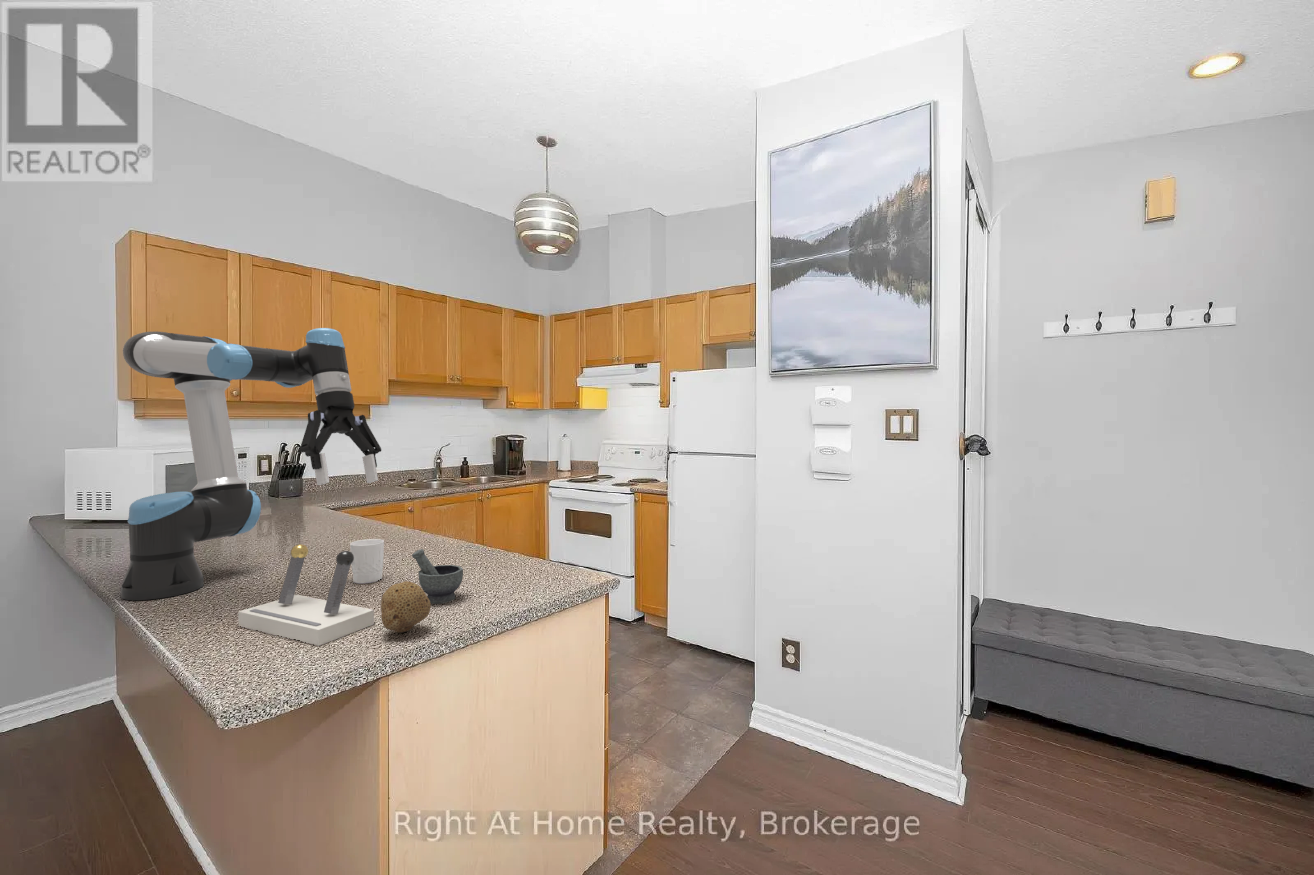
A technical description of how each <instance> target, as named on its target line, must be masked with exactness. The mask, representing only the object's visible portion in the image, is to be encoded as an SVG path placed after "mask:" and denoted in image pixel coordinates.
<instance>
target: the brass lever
mask: <svg viewBox="0 0 1314 875" xmlns="http://www.w3.org/2000/svg"><path fill="white" fill-rule="evenodd" d="M308 554H309V548H308V546H306V545H305V544H302V543H300V544H299V543H298V544H296V545H294V546H292V548H291V550H290V555H291V556H290V560H289V564H288V567H287V570H286V574H285V578H284V580H283V584H282V587H281V591H280V595H279V599H278V600H279V601H278V603H282V604H292V601H293V598H294V595H296V591H297V586H298V583H299V580H300V577H301V576H300V575H301V572H302V569H303V565H304V561H305V558H306V557H307V556H308Z"/></svg>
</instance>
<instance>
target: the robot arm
mask: <svg viewBox="0 0 1314 875" xmlns="http://www.w3.org/2000/svg"><path fill="white" fill-rule="evenodd" d="M305 343H306V345H304V346H302V347H301V348H298V349H296V350H286V349H284V350H283V349H276V348H269V347H268V348H267V347H256V346H252V345H251V346H249V345H244V344H243V345H240V344H237V343H227V342H226V341H224V340H222V339H219V338H212V337H209V336H206V335H205V336H198V335H190V334H182V333H173V332H166V331H158V330H157V331H156V330H155V331H145V332H140V333H136V334H135V335H133V336H131V337H130V338H128V339H127V340H126V341H125V343H124V345H123V347H122V356H123V359H124V361H125V362H126V364H127V365H128V366H129V367H130V368H132V370H134V371H136V372H137V373H140V374H143V375H144V376H147V377H148V376H149V377H154V378H160V379H161V378H162V379H173V382H174V388H175V389H176V390H178V391H179V392H181V393H182V394H183V398H184V404H185V410H186V417H187V424H188V430H189V436H190V443H191V448H192V455H193V462H194V469H195V475H196V480H197V481H196V482H197V484H195V486H194V487H193V488H192V489H191V490H190V491H191V492H190V491H174V492H164V493H158V494H153V495H149V496H145V497H141V498H139V499H138V498H137V499H136V500H135V501H133V502H132V503H131V504H130V505H129V510H128V518H127V523H128V538H129V541H128V542H129V565H128V568H127V571H126V573H125V576H124V577H123V578H124V579H123V581H122V584H121V586H120V598H121V599H122V600H128V601H147V600H157V599H164V598H171V597H175V596H180V595H183V594H187V593H191V592H194V591H196V590H198V589H201V588H203V587H204V583H205V582H204V581H205V580H204V574H203V572H202V570H201V568H200V566H199V564H198V561H197V559H196V556H195V550H194V549H195V548H194V546H195V543H197V542H202V541H208V540H209V541H210V540H215V539H221V538H226V537H235V536H237V535H240V534H241V535H242V534H245V533H248V532H250V531H252V529H253V528H255V527H256V525H257V523H258V521H259V519H260V516H261V510H262V503H261V500H260V497H259V496H258V495H257V494H258V493H257V492H256V491H254V490H252V489H248V487H247V482H246V481H244V480H242V479H241V478H240V477H239V473H238V467H237V461H236V455H235V449H234V442H233V435H232V429H231V424H230V423H231V422H230V417H229V412H228V404H227V398H226V390H227V389H228V388H230V386H231V381H233V380H235V381H237V380H238V381H239V380H240V381H245V380H246V381H262V382H274V383H276V384H278V385H279V386H281V387H283V388H287V389H291V388H295V387H299V386H302V385H305V384H306V383H309V382H310V381H312V382H313V389H314V394H315V395H316V397H315V401H316V407H317V410H314V411H311V412H308V414H307V425H306V428H305V431H304V434H303V438H302V441H301V444H300V447H299V452H300V453H304V456H306V457H309V458H310V463H311V469H312V470H314V474H315V480H316V486H322V485H326V484H329V483H330V477H329V473H328V472H329V471H328V466H327V460H326V454H325V452H324V453H323V452H322V451H323V449H324V447H325V445H326V444H327V443H328V441H329V439H330V438H331V436H332V434H337V433H338V434H339V435H341V434H342V435H343V434H344V435H345V437H349V438H350V439H351V441H352V442H353V443H354V444H355V445H356V446H357V448H359V450H360V451H361V452H362V453H363V456H362V462H363V463H362V464H363V469H364V475H365V479H366V484H371V483H375V482H377V481H379V477H378V473H377V472H378V471H377V467H378V463H377V458H376V454H379V453H380V452H382V447H381V446H380V444H379V442H378V440H377V438H376V437H375V435H374V433H373V431H372V430H371V428H370V427H369V425H368V422H367V419H366V416H365V414H360V415H355V414H354V412H353V411H354V409H355V402H354V401H355V400H354V396H353V393H352V385H351V381H350V374H349V366H348V361H347V356H346V355H347V354H346V346H345V343H344V341H343V335H342V334H341V332H340V331H338V330H336V329H334V328H329V327H318V328H313V329H311V330H309V331H307V333H306V335H305ZM321 423H323V425H322V427H321V428H320V426H321ZM318 433H319V434H318ZM321 452H322V453H321Z"/></svg>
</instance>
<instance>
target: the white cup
mask: <svg viewBox="0 0 1314 875" xmlns="http://www.w3.org/2000/svg"><path fill="white" fill-rule="evenodd" d="M384 547H385V540H384V539H380V538H368V539H359V540H354V541H352V542H350V543H349V548H350V550H349V551H350V552H351V553H352V554H353V555H354V561H353V562H352V564H351V565H350V567H351V572H352V582H353V583H355V584H362V585H363V584H370V583H371V584H372V583H376V582H379V581H381V580H382V579H383V568H384V553H385V548H384ZM380 579H381V580H380ZM378 580H379V581H378Z"/></svg>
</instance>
